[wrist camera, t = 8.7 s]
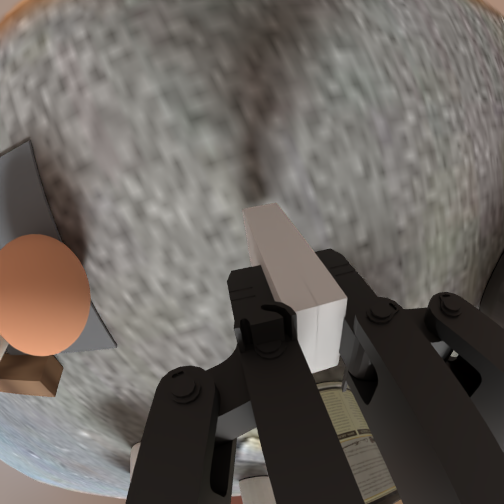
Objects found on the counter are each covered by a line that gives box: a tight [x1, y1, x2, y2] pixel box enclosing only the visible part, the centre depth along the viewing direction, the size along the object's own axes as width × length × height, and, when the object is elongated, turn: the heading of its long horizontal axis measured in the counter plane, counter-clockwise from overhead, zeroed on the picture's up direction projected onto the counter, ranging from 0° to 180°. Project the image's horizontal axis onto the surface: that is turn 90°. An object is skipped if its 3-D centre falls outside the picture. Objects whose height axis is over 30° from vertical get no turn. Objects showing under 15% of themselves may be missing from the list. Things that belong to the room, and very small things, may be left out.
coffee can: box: [316, 382, 401, 504], centre depth 19 cm, size 10×10×14 cm
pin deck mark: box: [0, 141, 117, 355], centre depth 12 cm, size 12×14×1 cm
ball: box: [0, 234, 91, 356], centre depth 10 cm, size 6×6×6 cm
